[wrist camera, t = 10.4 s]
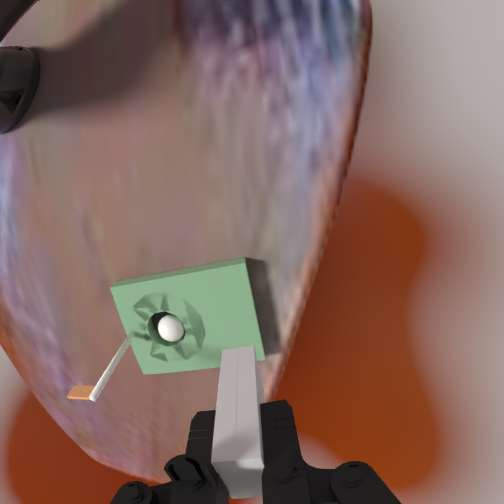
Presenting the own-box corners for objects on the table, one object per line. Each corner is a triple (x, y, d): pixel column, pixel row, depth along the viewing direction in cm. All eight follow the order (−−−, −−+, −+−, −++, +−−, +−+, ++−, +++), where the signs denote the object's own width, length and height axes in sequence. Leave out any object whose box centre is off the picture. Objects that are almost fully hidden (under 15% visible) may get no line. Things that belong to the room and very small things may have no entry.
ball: (157, 345, 37) (179, 347, 36) (149, 321, 36) (172, 322, 35) (170, 332, 40) (192, 333, 39) (163, 310, 39) (185, 310, 38)
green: (133, 366, 41) (96, 440, 25) (101, 284, 38) (37, 340, 22) (264, 349, 41) (274, 436, 25) (245, 257, 37) (246, 316, 21)
